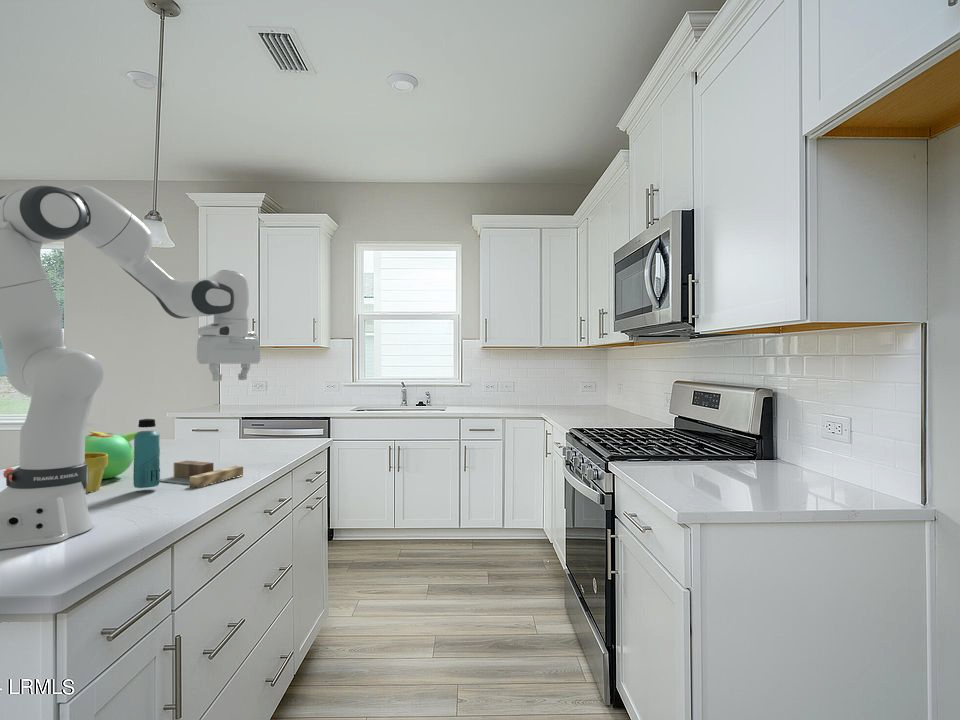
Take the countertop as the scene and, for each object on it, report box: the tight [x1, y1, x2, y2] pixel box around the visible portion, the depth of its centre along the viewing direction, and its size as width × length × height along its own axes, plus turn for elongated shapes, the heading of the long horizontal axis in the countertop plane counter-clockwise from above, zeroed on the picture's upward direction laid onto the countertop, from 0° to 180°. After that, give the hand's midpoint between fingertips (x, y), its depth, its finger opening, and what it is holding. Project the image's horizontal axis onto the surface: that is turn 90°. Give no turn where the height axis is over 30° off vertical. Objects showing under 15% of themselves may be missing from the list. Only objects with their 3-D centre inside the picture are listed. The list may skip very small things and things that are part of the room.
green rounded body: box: [85, 430, 139, 480], centre depth 172 cm, size 18×17×15 cm
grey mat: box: [159, 476, 190, 486], centre depth 174 cm, size 14×14×1 cm
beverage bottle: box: [132, 418, 161, 489], centre depth 157 cm, size 6×7×20 cm
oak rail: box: [188, 465, 244, 489], centre depth 171 cm, size 18×3×3 cm, turn 161°
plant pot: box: [85, 453, 108, 493], centre depth 156 cm, size 10×10×10 cm
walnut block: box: [172, 459, 214, 479], centre depth 174 cm, size 4×4×11 cm
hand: (230, 380), depth 156 cm, fingers open, 8 cm apart
